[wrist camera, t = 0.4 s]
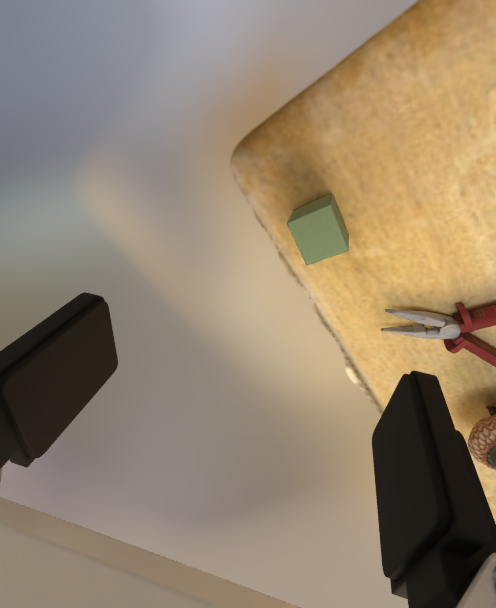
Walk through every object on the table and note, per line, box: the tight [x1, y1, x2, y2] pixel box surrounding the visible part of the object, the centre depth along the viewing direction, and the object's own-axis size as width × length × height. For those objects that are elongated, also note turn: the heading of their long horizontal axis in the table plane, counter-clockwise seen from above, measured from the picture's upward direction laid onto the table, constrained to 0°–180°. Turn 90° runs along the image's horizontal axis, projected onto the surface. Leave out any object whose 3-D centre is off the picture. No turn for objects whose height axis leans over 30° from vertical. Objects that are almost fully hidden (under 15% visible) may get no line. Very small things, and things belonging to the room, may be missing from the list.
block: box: [287, 193, 349, 265], centre depth 33 cm, size 4×5×4 cm
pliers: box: [381, 303, 496, 367], centre depth 36 cm, size 12×20×3 cm, turn 92°
